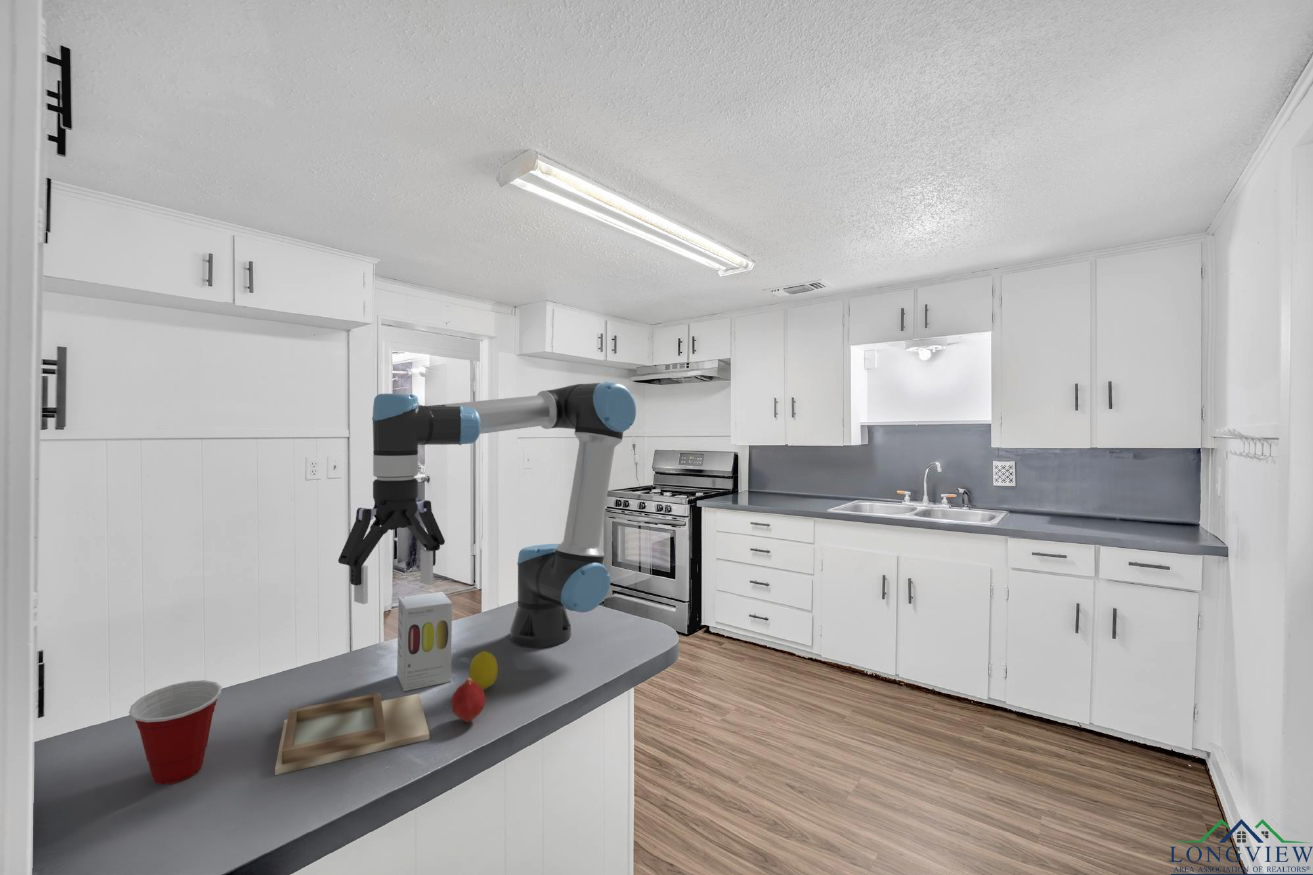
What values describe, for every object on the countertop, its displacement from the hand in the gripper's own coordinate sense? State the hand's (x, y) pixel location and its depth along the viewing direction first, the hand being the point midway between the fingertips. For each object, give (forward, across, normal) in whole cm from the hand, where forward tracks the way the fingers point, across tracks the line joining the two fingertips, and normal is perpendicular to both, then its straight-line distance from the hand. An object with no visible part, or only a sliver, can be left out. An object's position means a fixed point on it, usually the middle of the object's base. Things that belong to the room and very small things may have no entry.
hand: (395, 592), depth 106 cm
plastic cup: (+22, +29, -11) cm, 38 cm away
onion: (+23, -5, +14) cm, 27 cm away
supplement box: (+23, -12, -7) cm, 27 cm away
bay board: (+22, +8, 0) cm, 24 cm away
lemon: (+23, -15, +7) cm, 28 cm away
